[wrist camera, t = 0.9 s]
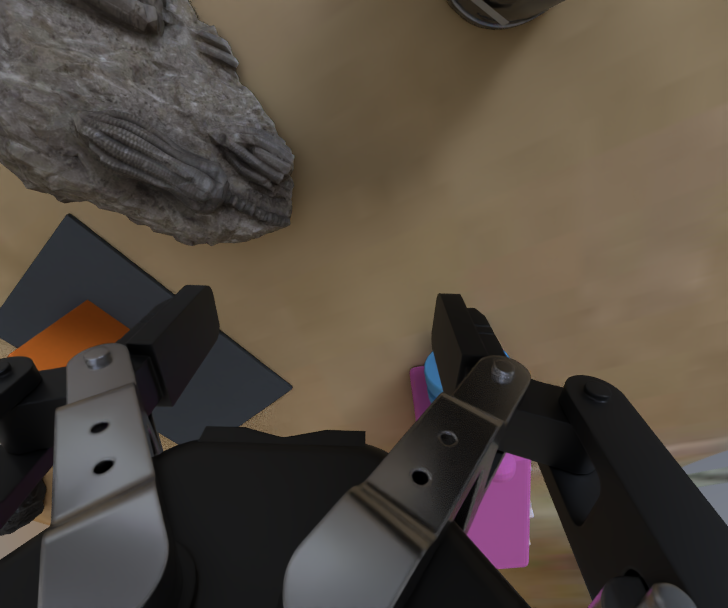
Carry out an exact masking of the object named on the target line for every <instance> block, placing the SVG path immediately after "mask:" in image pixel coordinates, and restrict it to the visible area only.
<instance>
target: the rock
mask: <svg viewBox="0 0 728 608" xmlns="http://www.w3.org/2000/svg"><path fill="white" fill-rule="evenodd" d="M45 493H46V486H45V485H44V483H43V481H42V479H41V481H40V482H39V483H38V484H37V486H36V487H35V488H34V489H33V491H32V492H31V493H30V494H29V495H28V497H27V498H26V499H25V500H24V502H23V503H22V504H21V505H20V506H19V508H18V509H17V510H16V511H15V513H14V514H13V515H12V516H11V517H10V519H9V520H8V521H7V522H6V524H5V525H4V526H3V527H2V529H1V530H0V536H2V535H5V534H11V533H13V532H15V531H16V530H17V529H19V528H21V527H23V526H25V525H27V524H29V523H30V522H31V521H32V520H34V519H35V517H37V516H38V515H39V514H41V513H42V511H43V509H44V505H43V502H42V501H43V499H44V497H45Z"/></svg>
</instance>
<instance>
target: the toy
mask: <svg viewBox="0 0 728 608" xmlns="http://www.w3.org/2000/svg"><path fill="white" fill-rule="evenodd" d="M503 351H504V350H503ZM504 352H505V351H504ZM505 354H506V356H507V357H508V358H510V357H509V356H508V355H507V353H506V352H505ZM410 380H411V387H412V395H413V402H414V409H415V417H416V421H417V420H418V418H419V417H420V416H421V415H422V414H423V413H424V411H425V410H426V409H427V408H428V407H429V406H430V405H431V403H432V402H433V401H434V400H435V399H436V398H437V396H438V395H439V394H440V393H442V392H443V389H442V385H441V381H440V377H439V373H438V369H437V365H436V361H435V357H434V353H433V351H432V352H431V354H430V355H429V356H428V357H427V359H426V362H425V364H424V366H420V367H414V368H412V369H411V370H410ZM531 471H532V468H531V460H529V459H525V458H522V457H519V456H516V455H512V454H509V453H506V454H505V456H504V458H503V460H502V462H501V464H500V466H499V468H498V470H497V472H496V474H495V476H494V478H493V480H492V482H491V484H490V486H489V487H488V489H487V491H486V493H485V495H484V497H483V499H482V501H481V504H480V506H479V508H478V511H477V513H476V516H475V518H474V520H473V523H472V525H471V527H470V529H469V531H468V534H467V536H468V537H469V538H470V539H471V540H472V541H473V543H474V544H475V545H476V546H477V547H478V548H479V549H480V550H481V552H482V553H483V554H484V555H485V556H486V557H487V558H488V560H489V561H490V562H491V563H492V564H493V565H494V566H495V567H496V569H504V568H516V567H525V566H527V565H528V561H529V545H530V544H531V543H530V539H529V520H530V518H532V517H534V514H533V511H532V506H531V502H530V475H531Z"/></svg>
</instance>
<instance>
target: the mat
mask: <svg viewBox="0 0 728 608" xmlns="http://www.w3.org/2000/svg"><path fill="white" fill-rule="evenodd" d="M174 296H175V295H174V294H173V293H171V292H170V291H169V290H168V289H166V288H165V287H164V286H162V285H161V284H160V283H158V282H157V281H156V280H155V279H153V278H152V277H151V276H149V275H148V274H147V273H146V272H144V271H143V270H142V269H140V268H139V267H138V266H137V265H135V264H134V263H133V262H131V261H130V260H129V259H128V258H126V257H125V256H124V255H122V254H121V253H120V252H119V251H117V250H116V249H115V248H113V247H112V246H111V245H110V244H108V243H107V242H106V241H104V240H103V239H102V238H101V237H99V236H98V235H97V234H95V233H94V232H93V231H92V230H90V229H89V228H88V227H86V226H85V225H84V224H83V223H81V222H80V221H79V220H77V219H76V218H75V217H74V216H72V215H71V214H67V215H66V216H65V218H64V219H63V220H62V222H61V223H60V225H59V226H58V228H57V229H56V230H55V232H54V233H53V235H52V236H51V237H50V239H49V240H48V242H47V243H46V244H45V246H44V247H43V249H42V250H41V252H40V253H39V254H38V256H37V257H36V259H35V260H34V261H33V263H32V264H31V266H30V267H29V268H28V270H27V271H26V273H25V274H24V276H23V277H22V278H21V280H20V281H19V283H18V284H17V285H16V287H15V288H14V290H13V291H12V292H11V294H10V295H9V297H8V298H7V300H6V301H5V302H4V304H3V305H2V307H1V308H0V338H1V339H3V340H5V341H6V342H8V343H10V344H11V345H13V346H15V347H16V348H19V347H21V346H22V345H23V344H25V343H26V342H28V341H29V340H30V339H32V338H33V337H35V336H36V335H38V334H39V333H40V332H42V331H43V330H45V329H46V328H48V327H49V326H50V325H52V324H53V323H55V322H56V321H58V320H59V319H60V318H62V317H63V316H65V315H66V314H68V313H69V312H70V311H72V310H73V309H75V308H76V307H78V306H79V305H80V304H82V303H83V302H85V301H86V300H89V301H90V302H92V303H93V304H94V305H96V306H97V307H99V308H100V309H102V310H103V311H105V312H106V313H107V314H109V315H110V316H112V317H113V318H115V319H116V320H117V321H119V322H120V323H122V324H123V325H125V326H126V327H127V328H129V329H131V328H133V327H134V326H135V325H136V324H137V323H140V320H141V319H142V318H143V317H144V316H145V315H147V314H148V313H149V312H150V311H151V310H152V309H153V308H154V307H155V306H156V305H158V304H160V303H162V302H164V301H166V300H168V299H170V298H173V297H174ZM291 389H292V386H291V385H290V384H288V383H287V382H286V381H285V380H283V379H282V378H281V377H279V376H278V375H277V374H276V373H274V372H273V371H272V370H270V369H269V368H268V367H267V366H265V365H264V364H263V363H261V362H260V361H259V360H258V359H256V358H255V357H254V356H252V355H251V354H250V353H249V352H247V351H246V350H245V349H243V348H242V347H241V346H240V345H238V344H237V343H236V342H234V341H233V340H232V339H231V338H229V337H228V336H227V335H225V334H224V333H223V332H222V331H220V330H219V336H218V339H217V341H216V342H215V344H214V346H213V347H212V349H211V350H210V352H209V353H208V355H207V356H206V358H205V359H204V361H203V362H202V364H201V365H200V367H199V368H198V370H197V371H196V373H195V374H194V376H193V377H192V379H191V380H190V382H189V383H188V385H187V386H186V388H185V390H184V391H183V393H182V394H181V396H180V397H179V399H178V400H177V402H176V403H175V405H174V406H173V407H155V408H154V410H153V411H152V414H153V417H154V419H155V423H156V427H157V430H158V433H160V434H162V435H163V436H165V437H167V438H168V439H170V440H172V441H173V442H175V443H177V444H178V445H180V444H182V443H185V442H189V441H193V440H197V439H199V438H200V437H201V435H202V433H203V431H204V429H205V427H206V426H220V427H239V426H240V425H242V424H243V423H245V422H246V421H247V420H249V419H250V418H252V417H253V416H254V415H256V414H257V413H259V412H260V411H262V410H263V409H264V408H266V407H267V406H269V405H270V404H271V403H273V402H274V401H276V400H277V399H279V398H280V397H281V396H283V395H284V394H286V393H287V392H289V391H290V390H291Z"/></svg>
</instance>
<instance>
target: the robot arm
mask: <svg viewBox="0 0 728 608" xmlns="http://www.w3.org/2000/svg"><path fill="white" fill-rule="evenodd" d="M447 1H448V2H449V4H450V5H451V7H452V8H453V9H454V10H455V11H456V12H457V13H458V14H459V15H460V16H461V17H462V18H464V19H465V20H466V21H468V22H470V23H472V24H473V25H476V26H478V27H482V28H486V29H493V30H501V29H508V28H512V27H516V26H519V25H521V24H524V23H526V22H528V21H530V20H532V19H534V18H536V17H537V16H539V15H541V14H542V13H544V12H545V11H547V10H549V9H550V8H552V7H554V6H556V5H558V4H559V3H561V2H563V1H565V0H447ZM219 330H220V326H219V320H218V315H217V310H216V306H215V301H214V296H213V292H212V289H211V288H210V287H209V286H203V285H185V286H184V287H183V288H182V289H181V290H180V291H179V292H178V293H177V294H176V295H175V296H174V297H173V298H170V299H168V300H166V301H164V302H162V303H160V304H158V305H156V306H155V307H154V308H153V309H152V310H151V311H150V312H149V313H148V314H147V315H145V316H144V317H143V318H142V319H141V320H140V323H137V324H136V325H135V326H134V327H133V328H131V329H130V330H129V331H128V332H127V333H126V334H125V335H124V336H123V337H122V338H121V339H120V340H119V341H117V342H116V343H106V344H101V345H96V346H93V347H90V348H88V349H86V350H83V351H81V352H80V353H78V354H76V355H75V356H74V357H72V358H71V359H70V360H69V362H68V363H67V366H66V367H60V368H54V369H47V370H41V371H38V369H37V368H36V366H35V364H34V362H33V360H32V359H31V358H29V357H25V356H13V357H7V358H3V359H0V443H1V445H0V530H1V529H2V527H3V526H4V525H5V524H6V522H7V521H8V520H9V519H10V517H11V516H12V515H13V514H14V513H15V511H16V510H17V509H18V508H19V506H20V505H21V504H22V503H23V502H24V500H25V499H26V498H27V497H28V495H29V494H30V493H31V492H32V491H33V489H34V488H35V487H36V486H37V484H38V483H39V482H40V481H41V479H42V478H43V477H44V476H45V475H46V473H47V472H48V471H49V470H50V468H51V467H52V466H53V483H52V512H51V524H50V527H48V528H47V529H45V530H44V531H42V532H41V533H39V534H38V535H36V536H35V537H34V538H32V539H30V540H29V541H27V542H26V543H25V544H23V545H21V546H20V547H18V548H17V549H16V550H14V551H13V552H11V553H10V554H8V555H7V556H5V557H4V558H2V559H1V560H0V608H531V607H530V606H529V605H528V604H527V603H526V601H525V600H524V599H523V598H522V597H521V596H520V595H519V593H518V592H517V591H516V590H515V589H514V588H513V587H512V586H511V584H510V583H509V582H508V581H507V580H506V579H505V578H504V576H503V575H502V574H501V573H500V572H499V571H498V570H497V569H496V567H495V566H494V565H493V564H492V563H491V562H490V561H489V560H488V558H487V557H486V556H485V555H484V554H483V553H482V552H481V550H480V549H479V548H478V547H477V546H476V545H475V544H474V543H473V541H472V540H471V539H470V538H469V537H468V536H467V534H468V531H469V529H470V527H471V525H472V523H473V520H474V518H475V516H476V513H477V511H478V508H479V506H480V504H481V501H482V499H483V497H484V495H485V493H486V491H487V489H488V487H489V486H490V484H491V482H492V480H493V478H494V476H495V474H496V472H497V470H498V468H499V466H500V464H501V462H502V460H503V458H504V456H505V454H506V453H509V454H512V455H516V456H519V457H522V458H525V459H529V460H532V461H535V462H538V465H539V468H540V470H541V473H542V475H543V478H544V480H545V483H546V485H547V488H548V490H549V493H550V495H551V498H552V500H553V503H554V505H555V508H556V510H557V513H558V515H559V518H560V521H561V523H562V526H563V528H564V531H565V533H566V536H567V538H568V541H569V543H570V546H571V548H572V551H573V553H574V556H575V558H576V561H577V563H578V566H579V568H580V571H581V573H582V576H583V579H584V581H585V584H586V586H587V589H588V591H589V594H590V596H591V599H592V602H591V604H590V605H589V606H588V607H587V608H728V526H727V525H726V524H725V522H724V521H723V520H722V518H721V517H720V516H719V515H718V513H717V512H716V511H715V510H714V508H713V507H712V506H711V504H710V503H709V502H708V501H707V499H706V498H705V497H704V496H703V494H702V493H701V492H700V491H699V489H698V488H697V487H696V485H695V484H694V483H693V482H692V480H691V479H690V478H689V477H688V475H687V474H686V473H685V471H684V470H683V469H682V468H681V466H680V465H679V464H678V463H677V461H676V460H675V459H674V458H673V456H672V455H671V454H670V452H669V451H668V450H667V449H666V447H665V446H664V445H663V444H662V442H661V441H660V440H659V439H658V437H657V436H656V435H655V433H654V432H653V431H652V430H651V428H650V427H649V426H648V425H647V423H646V422H645V421H644V420H643V418H642V417H641V416H640V414H639V413H638V412H637V411H636V409H635V408H634V407H633V406H632V404H631V403H630V402H629V401H628V399H627V398H626V397H625V395H624V394H623V393H622V392H621V391H620V390H618V389H617V388H616V387H614V386H613V385H611V384H609V383H607V382H605V381H603V380H601V379H598V378H595V377H591V376H585V375H576V376H572V377H570V378H568V379H567V380H566V382H565V385H564V387H559V386H555V385H551V384H546V383H542V382H539V381H536V380H533V379H531V375H530V373H529V371H528V370H527V369H526V368H525V367H524V366H523V365H522V364H521V363H519V362H517V361H516V360H513V359H511V358H508V357H507V356H506V354H505V352H504V351H503V349H502V347H501V345H500V343H499V341H498V339H497V338H496V336H495V335H494V332H493V330H492V328H491V327H490V325H489V323H488V321H487V319H486V317H485V316H484V315H483V314H482V313H480V312H479V311H478V310H476V309H475V308H467V307H466V305H465V303H464V301H463V299H462V297H461V295H460V294H441V293H439V294H438V296H437V299H436V306H435V313H434V320H433V327H432V349H433V353H434V357H435V361H436V365H437V369H438V373H439V377H440V381H441V385H442V389H443V392H442V393H440V394H439V395H438V396H437V398H436V399H435V400H434V401H433V402H432V403H431V405H430V406H429V407H428V408H427V409H426V410H425V411H424V413H423V414H422V415H421V416H420V417H419V418H418V420H417V421H416V422H415V423H414V424H413V425H412V427H411V428H410V429H409V430H408V431H407V432H406V434H405V435H404V436H403V437H402V438H401V439H400V441H399V442H398V443H397V444H396V445H395V446H394V448H393V449H392V450H391V451H390V452H389V453H387V452H385V451H384V450H382V449H379V448H377V447H374V446H371V445H368V444H365V431H342V430H323V431H318V432H312V433H306V434H301V435H295V436H289V437H279V436H275V435H272V434H268V433H264V432H261V431H257V430H253V429H249V428H246V427H220V426H206V427H205V429H204V431H203V433H202V435H201V437H200V438H199V439H197V440H193V441H189V442H185V443H182V444H180V445H177V446H174V447H172V448H170V449H168V450H166V451H163V449H162V445H161V441H160V438H159V434H158V430H157V427H156V423H155V419H154V417H153V414H152V411H153V410H154V408H155V407H173V406H174V405H175V403H176V402H177V400H178V399H179V397H180V396H181V394H182V393H183V391H184V390H185V388H186V386H187V385H188V383H189V382H190V380H191V379H192V377H193V376H194V374H195V373H196V371H197V370H198V368H199V367H200V365H201V364H202V362H203V361H204V359H205V358H206V356H207V355H208V353H209V352H210V350H211V349H212V347H213V346H214V344H215V342H216V341H217V339H218V336H219Z"/></svg>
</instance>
